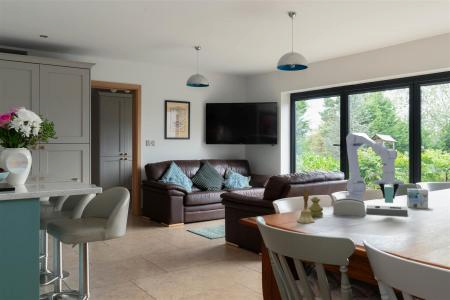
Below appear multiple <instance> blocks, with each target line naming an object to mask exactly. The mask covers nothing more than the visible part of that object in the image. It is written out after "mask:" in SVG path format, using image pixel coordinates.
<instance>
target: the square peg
mask: <svg viewBox="0 0 450 300" xmlns="http://www.w3.org/2000/svg"><path fill="white" fill-rule="evenodd" d="M384 192H385V198H384V203H386V204H394V199H393V186H384Z"/></svg>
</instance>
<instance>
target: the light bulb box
mask: <svg viewBox="0 0 450 300" xmlns="http://www.w3.org/2000/svg"><path fill="white" fill-rule="evenodd" d="M406 191H407V192H406V207H408V208H412V209H414V208H416V209H417V208H418V209H429V189H427V188H408V187H407V188H406Z"/></svg>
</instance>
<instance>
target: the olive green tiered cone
mask: <svg viewBox="0 0 450 300" xmlns="http://www.w3.org/2000/svg"><path fill="white" fill-rule="evenodd" d="M310 201H311V202H312V204H311V205H310V206H308V210H310V211H311V217H312V218H323V217H324V212H323V211H324V208H323V207H322V206H321V205H320V204H319V202H321V198H319V197H317V196H313V197H312V198H310Z"/></svg>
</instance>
